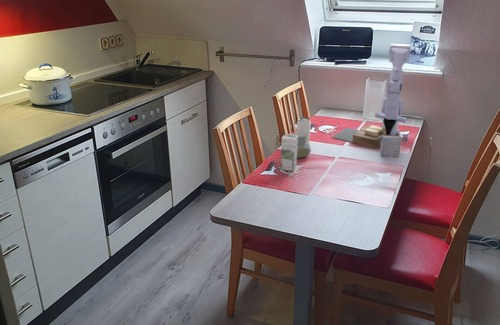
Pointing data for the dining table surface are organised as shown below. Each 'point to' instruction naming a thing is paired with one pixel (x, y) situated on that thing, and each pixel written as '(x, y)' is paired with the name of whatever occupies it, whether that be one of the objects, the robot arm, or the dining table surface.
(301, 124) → the can
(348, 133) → the mat
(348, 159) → the dining table surface
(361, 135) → the brown shallow box
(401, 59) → the robot arm
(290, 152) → the syrup box
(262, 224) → the dining table surface
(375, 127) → the tile
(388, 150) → the medicine box
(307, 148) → the air freshener
